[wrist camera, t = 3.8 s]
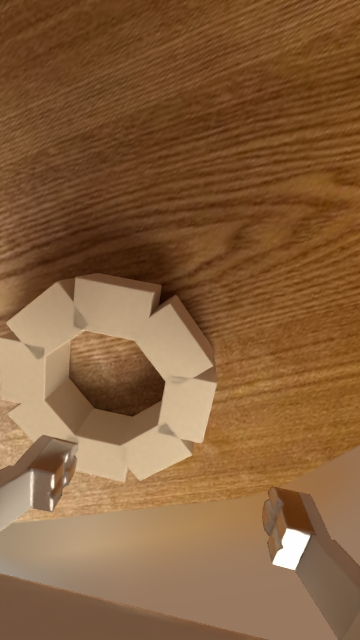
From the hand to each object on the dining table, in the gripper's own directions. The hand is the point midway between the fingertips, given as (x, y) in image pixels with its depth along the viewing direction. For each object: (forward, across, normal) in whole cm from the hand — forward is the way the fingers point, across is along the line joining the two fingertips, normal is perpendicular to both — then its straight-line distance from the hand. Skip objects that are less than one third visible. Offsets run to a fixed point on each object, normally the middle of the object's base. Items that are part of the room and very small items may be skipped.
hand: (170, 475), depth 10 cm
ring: (+8, +5, 0) cm, 9 cm away
